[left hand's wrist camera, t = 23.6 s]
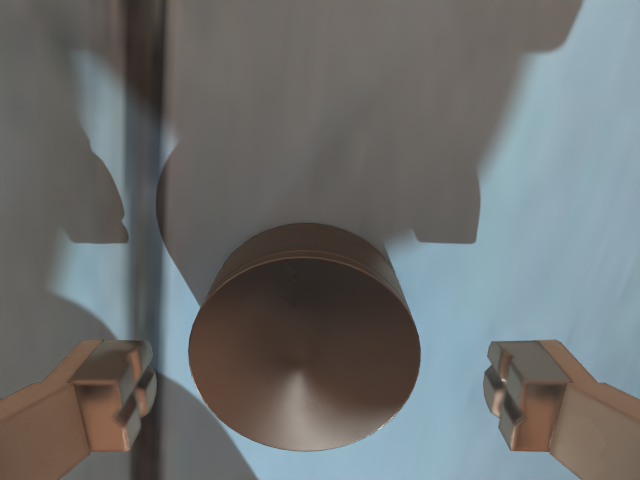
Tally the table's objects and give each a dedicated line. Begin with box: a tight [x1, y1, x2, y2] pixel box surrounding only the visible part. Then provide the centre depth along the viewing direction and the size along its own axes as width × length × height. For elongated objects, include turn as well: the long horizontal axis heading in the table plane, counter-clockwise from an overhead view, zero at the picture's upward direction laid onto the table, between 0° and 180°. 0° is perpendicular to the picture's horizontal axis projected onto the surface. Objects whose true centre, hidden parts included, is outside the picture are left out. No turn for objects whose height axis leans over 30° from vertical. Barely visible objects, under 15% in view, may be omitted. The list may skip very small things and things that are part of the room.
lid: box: [188, 223, 421, 451], centre depth 11 cm, size 6×6×2 cm
